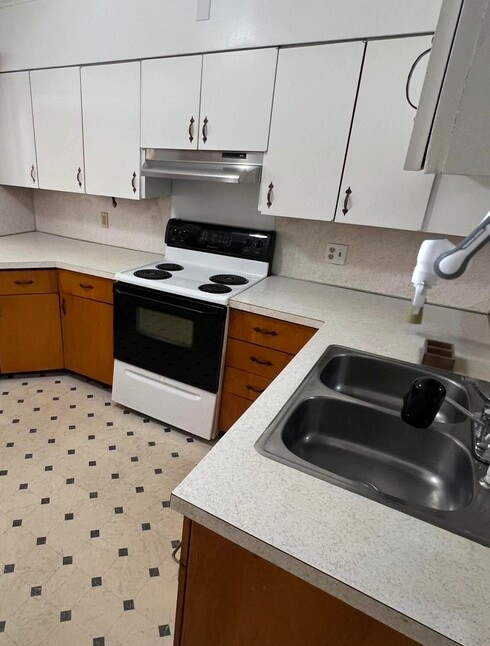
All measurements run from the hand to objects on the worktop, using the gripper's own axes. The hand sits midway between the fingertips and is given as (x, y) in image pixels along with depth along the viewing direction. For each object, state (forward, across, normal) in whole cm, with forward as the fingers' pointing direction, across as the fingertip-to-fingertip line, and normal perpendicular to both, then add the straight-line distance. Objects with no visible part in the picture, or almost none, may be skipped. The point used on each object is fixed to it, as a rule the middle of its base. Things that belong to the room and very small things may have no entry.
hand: (415, 312), depth 173 cm
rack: (+9, -27, -10) cm, 30 cm away
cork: (+4, 0, 0) cm, 4 cm away
